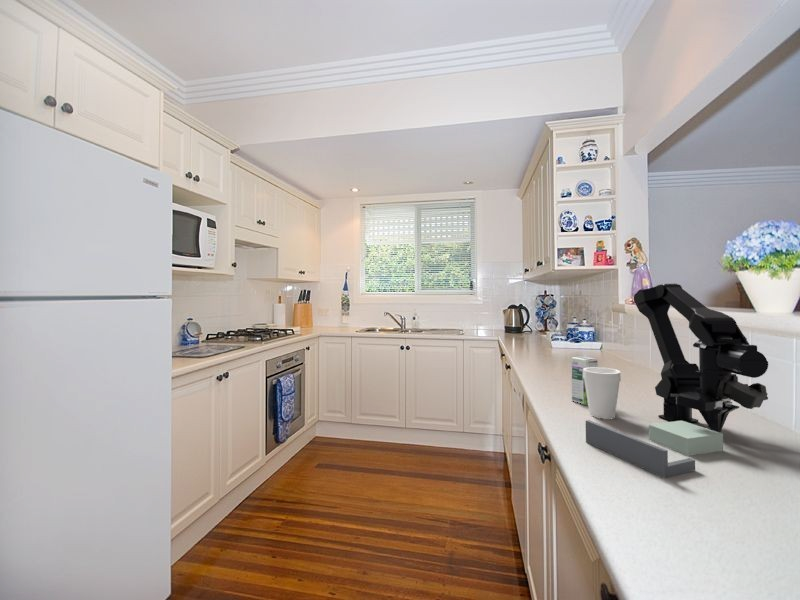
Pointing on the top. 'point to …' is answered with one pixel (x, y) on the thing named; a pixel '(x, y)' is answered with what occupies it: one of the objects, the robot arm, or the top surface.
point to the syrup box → (580, 377)
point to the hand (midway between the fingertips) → (716, 434)
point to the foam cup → (602, 391)
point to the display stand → (636, 451)
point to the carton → (686, 437)
